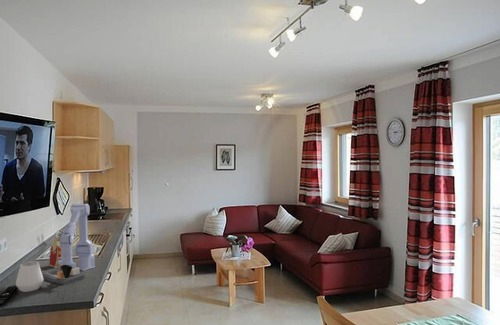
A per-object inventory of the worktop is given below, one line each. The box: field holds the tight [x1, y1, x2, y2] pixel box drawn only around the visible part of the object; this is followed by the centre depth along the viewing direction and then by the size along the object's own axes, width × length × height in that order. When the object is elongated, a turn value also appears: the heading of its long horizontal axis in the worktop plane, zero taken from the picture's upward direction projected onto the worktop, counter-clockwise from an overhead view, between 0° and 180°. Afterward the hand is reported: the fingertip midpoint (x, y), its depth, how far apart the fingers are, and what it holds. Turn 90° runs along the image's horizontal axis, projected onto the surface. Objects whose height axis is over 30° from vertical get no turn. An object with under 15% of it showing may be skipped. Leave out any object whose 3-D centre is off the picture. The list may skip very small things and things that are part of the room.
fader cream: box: [70, 266, 81, 276], centre depth 218 cm, size 4×3×4 cm, turn 150°
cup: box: [15, 261, 45, 293], centre depth 202 cm, size 13×13×14 cm
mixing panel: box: [42, 267, 85, 286], centre depth 220 cm, size 13×26×2 cm, turn 60°
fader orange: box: [57, 271, 65, 279], centre depth 213 cm, size 4×3×4 cm, turn 150°
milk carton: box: [48, 236, 62, 269], centre depth 245 cm, size 9×9×20 cm
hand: (67, 277), depth 211 cm, fingers closed
